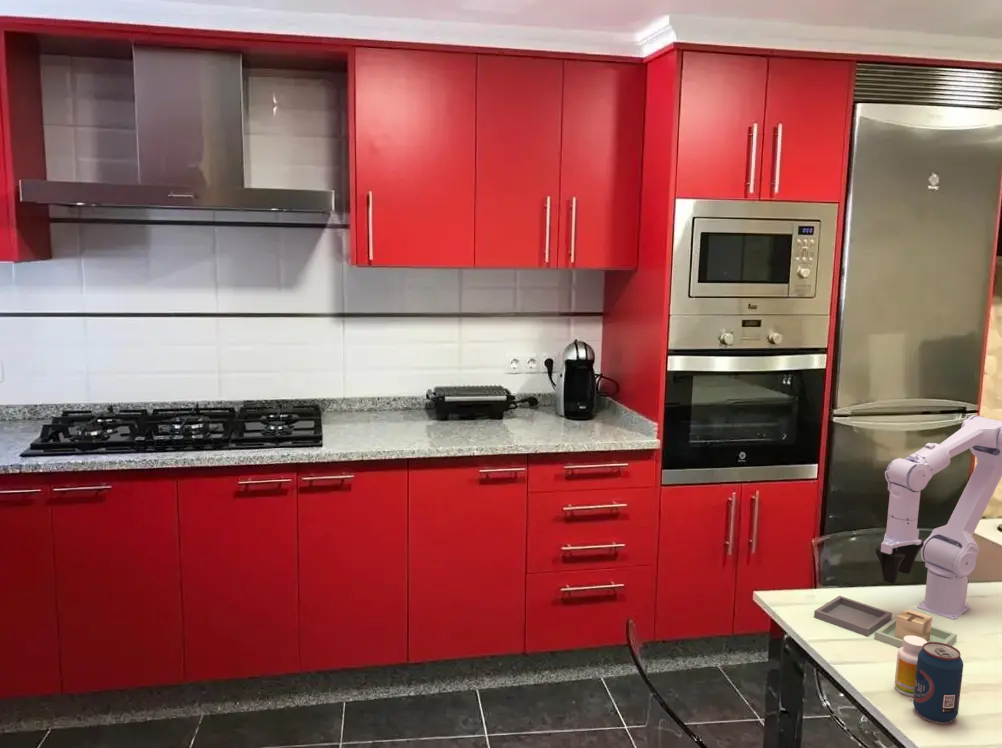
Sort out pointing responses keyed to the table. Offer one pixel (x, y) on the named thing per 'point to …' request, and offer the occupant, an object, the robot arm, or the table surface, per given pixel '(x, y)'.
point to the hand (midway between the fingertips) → (896, 577)
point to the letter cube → (913, 625)
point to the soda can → (938, 682)
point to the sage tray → (888, 636)
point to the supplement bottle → (908, 664)
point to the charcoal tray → (853, 615)
